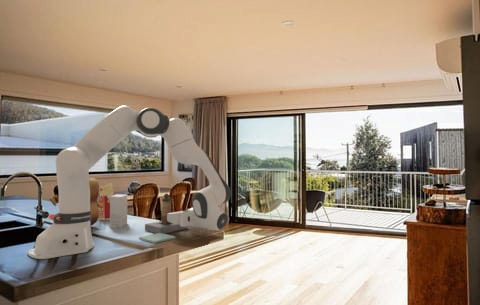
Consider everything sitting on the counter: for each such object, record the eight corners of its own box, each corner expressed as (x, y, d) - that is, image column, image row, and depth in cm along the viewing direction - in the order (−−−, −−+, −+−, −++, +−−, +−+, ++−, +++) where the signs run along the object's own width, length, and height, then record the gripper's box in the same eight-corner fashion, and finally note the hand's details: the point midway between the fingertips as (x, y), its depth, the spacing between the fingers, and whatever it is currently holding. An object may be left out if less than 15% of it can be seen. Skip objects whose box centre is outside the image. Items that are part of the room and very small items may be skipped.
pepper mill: (165, 231, 165) (165, 194, 165) (159, 229, 168) (159, 193, 168) (173, 229, 168) (173, 193, 168) (167, 228, 171) (167, 192, 171)
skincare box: (115, 223, 181) (115, 194, 182) (128, 223, 181) (128, 194, 181) (109, 227, 173) (109, 196, 173) (122, 227, 173) (122, 196, 173)
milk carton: (112, 216, 203) (112, 182, 203) (118, 218, 196) (118, 183, 196) (96, 218, 197) (96, 183, 197) (101, 220, 190) (101, 184, 190)
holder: (160, 234, 158) (160, 227, 158) (144, 230, 166) (144, 224, 166) (187, 228, 170) (187, 222, 170) (171, 225, 178) (171, 219, 178)
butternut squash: (97, 229, 167) (98, 178, 167) (67, 231, 163) (67, 178, 163) (100, 224, 180) (100, 176, 180) (71, 225, 176) (72, 176, 176)
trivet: (154, 243, 142) (154, 241, 142) (138, 239, 149) (138, 237, 149) (175, 238, 150) (175, 236, 150) (160, 234, 157) (160, 232, 157)
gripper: (213, 207, 161) (193, 204, 170) (179, 212, 146) (159, 208, 155) (213, 220, 161) (193, 217, 170) (179, 227, 146) (159, 223, 155)
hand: (177, 213), depth 162 cm, fingers open, 8 cm apart
